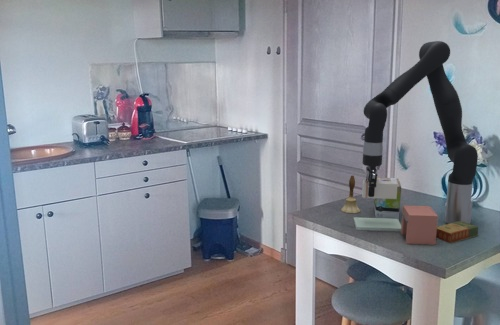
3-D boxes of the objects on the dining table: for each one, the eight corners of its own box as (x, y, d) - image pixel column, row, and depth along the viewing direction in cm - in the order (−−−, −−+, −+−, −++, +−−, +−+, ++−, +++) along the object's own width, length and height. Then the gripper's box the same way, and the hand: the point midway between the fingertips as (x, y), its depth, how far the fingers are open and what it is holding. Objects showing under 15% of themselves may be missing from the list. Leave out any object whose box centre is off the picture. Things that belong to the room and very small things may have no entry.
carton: (432, 237, 193) (432, 226, 192) (459, 230, 201) (460, 219, 200) (450, 244, 186) (451, 233, 185) (478, 236, 194) (479, 225, 193)
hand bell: (343, 207, 229) (344, 172, 226) (361, 209, 226) (363, 174, 223) (339, 212, 222) (340, 177, 218) (358, 214, 219) (360, 178, 215)
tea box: (399, 220, 211) (401, 186, 208) (374, 218, 213) (376, 184, 210) (396, 209, 226) (398, 177, 222) (373, 208, 228) (375, 176, 224)
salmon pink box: (427, 233, 196) (429, 206, 194) (435, 244, 184) (437, 216, 182) (400, 232, 197) (402, 205, 195) (406, 243, 185) (408, 215, 183)
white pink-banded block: (394, 195, 203) (395, 181, 202) (396, 199, 199) (397, 184, 198) (361, 194, 205) (362, 180, 203) (363, 197, 200) (363, 183, 199)
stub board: (397, 221, 209) (397, 218, 209) (403, 231, 198) (403, 228, 197) (353, 220, 211) (353, 217, 211) (356, 229, 199) (356, 227, 199)
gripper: (385, 156, 191) (382, 200, 195) (379, 149, 205) (377, 190, 209) (365, 156, 192) (362, 199, 195) (360, 149, 206) (358, 189, 209)
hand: (370, 194), depth 202 cm, fingers closed on white pink-banded block, 4 cm apart
